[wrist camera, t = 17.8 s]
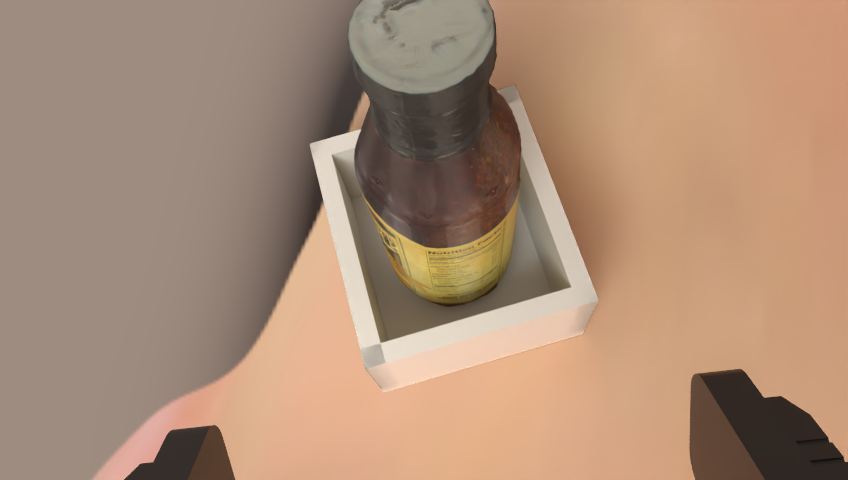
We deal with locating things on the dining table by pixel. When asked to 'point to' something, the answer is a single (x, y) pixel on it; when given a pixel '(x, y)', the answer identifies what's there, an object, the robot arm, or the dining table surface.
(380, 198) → the sauce bottle
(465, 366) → the bottle holder
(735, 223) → the dining table surface
